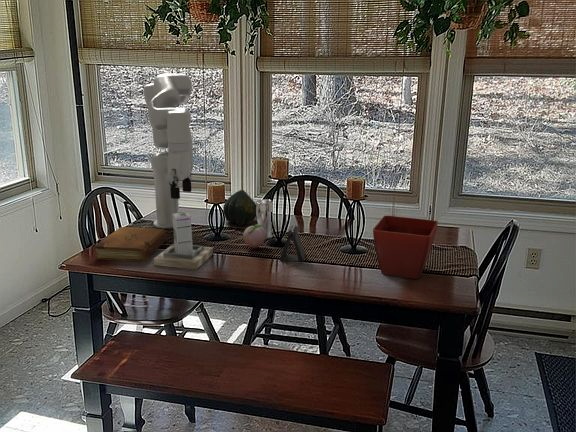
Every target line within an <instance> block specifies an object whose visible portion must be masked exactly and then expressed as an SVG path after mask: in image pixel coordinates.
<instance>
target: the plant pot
mask: <svg viewBox="0 0 576 432" xmlns="http://www.w3.org/2000/svg"><path fill="white" fill-rule="evenodd" d="M438 224H439V221H437V220H434V219H433V220H432V219H425V218H424V219H423V218H415V217H414V218H413V217H408V216H407V217H405V216H398V215H397V216H395V215H384V216H383V217H381V219H380V220H379V221H378V223H377V224H376V225H375V226H374V227H373V229H372V234H373V235H372V237H373V242H374V248H375V249H374V250H375V254H376V259H377V262H378V266H379V269H380V271H381V274H382V275H384V276H385V275H387V276H394V277H401V278H407V279H414V280H418V279H419V278H420V277H421V276H422V273H423V270H424V268H425V267H426V265H427V262H428V259H429V257H430V253H431V251H432V247H433V244H434V240H435V237H436V232H437V230H438Z"/></svg>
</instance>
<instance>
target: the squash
mask: <svg viewBox="0 0 576 432" xmlns="http://www.w3.org/2000/svg"><path fill="white" fill-rule="evenodd" d="M226 201H227V202H226ZM226 201H225V202H226V203H225V202H224V204H223V207H222V208H223V209H222V210H223V215H224V218H225V220H226V221H228V222H229V223H236V224H237V225H238V226H240V227H241V226H243V225H248V224H250V223H251V222H253V221H254V220H255V219H256V201H255V200H253V199H252V197H251V196H250V195H249V194H248V192H246V190H244V189H241V190H237V191H236V192H234V193H233V194H231V195H230V196H229V197H228V198H227V199H226Z"/></svg>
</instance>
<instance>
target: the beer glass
mask: <svg viewBox="0 0 576 432" xmlns="http://www.w3.org/2000/svg"><path fill="white" fill-rule="evenodd" d="M255 204H256V217H255V219H256V223H257V224H260V225H262V226H261V227H262V228H263V229H264V230H265V232H266V237H265V240H270V239H272V238H273V235H272V224H273V223H272V222H273V221H272V222H271V212H272V220H273V217H274V206H273V205H274V203H273V200H271V199H266V198H265V199H263V198H262V199H257V200H256V201H255Z"/></svg>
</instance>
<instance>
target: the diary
mask: <svg viewBox="0 0 576 432" xmlns="http://www.w3.org/2000/svg"><path fill="white" fill-rule="evenodd" d="M166 232H167V231H166V229H165V228H153V227H152V228H151V227H149V228H148V227H130V226H129V227H128V226H120V227H118V228H117V229H116V230H114V231H113V232H112V233H110V234H108V236H106V237H105V238H103V240H101V241H99V242H98V243H97V244H95V245H94V249H96V251H97V257H95V260H100V261H101V260H102V261H103V260H104V261H116V262H117V261H118V262H119V261H120V262H132V263H133V262H134V263H135V262H136V263H145V261H147V260H148V259H149V257H151V256H152V255H153V254H154V253H155V252H156V251H157V250H158V249H159V248H160V247H162V245H163V244H164V243H165V242H166V241H167V233H166Z"/></svg>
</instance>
